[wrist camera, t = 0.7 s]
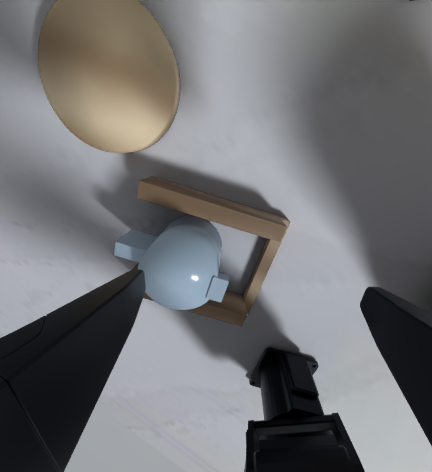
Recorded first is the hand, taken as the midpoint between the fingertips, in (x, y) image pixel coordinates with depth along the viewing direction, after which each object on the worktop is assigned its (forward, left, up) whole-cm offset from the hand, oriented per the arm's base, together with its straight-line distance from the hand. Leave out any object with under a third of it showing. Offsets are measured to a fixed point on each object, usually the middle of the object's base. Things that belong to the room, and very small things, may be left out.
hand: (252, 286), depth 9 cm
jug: (-5, +4, -12) cm, 13 cm away
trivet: (+7, +13, -12) cm, 19 cm away
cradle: (-5, +3, -12) cm, 13 cm away
